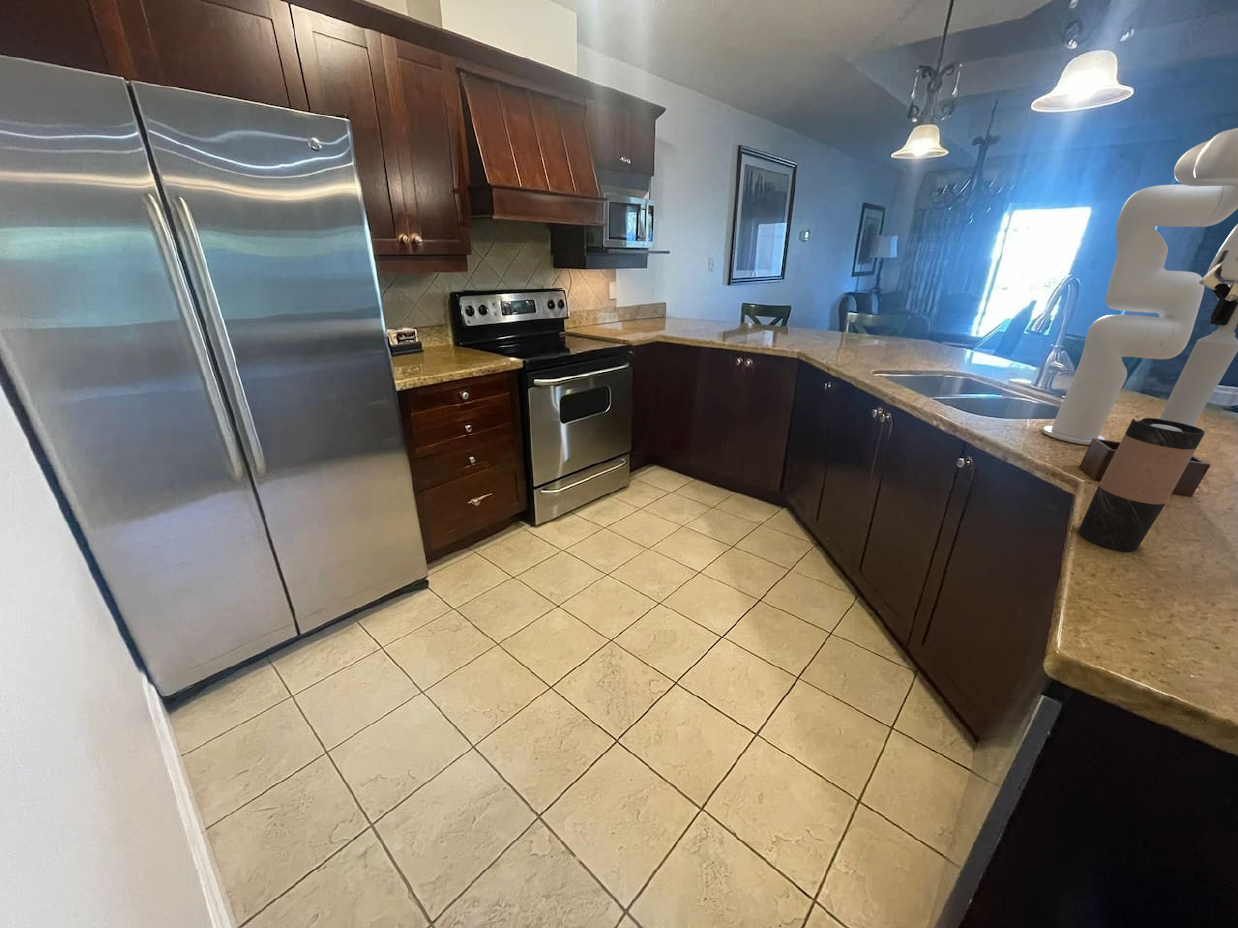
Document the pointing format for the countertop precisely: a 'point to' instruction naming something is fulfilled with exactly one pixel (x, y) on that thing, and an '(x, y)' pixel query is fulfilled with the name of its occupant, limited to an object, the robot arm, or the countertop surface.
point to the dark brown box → (1105, 449)
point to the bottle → (1202, 373)
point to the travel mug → (1139, 482)
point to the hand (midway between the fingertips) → (1228, 324)
